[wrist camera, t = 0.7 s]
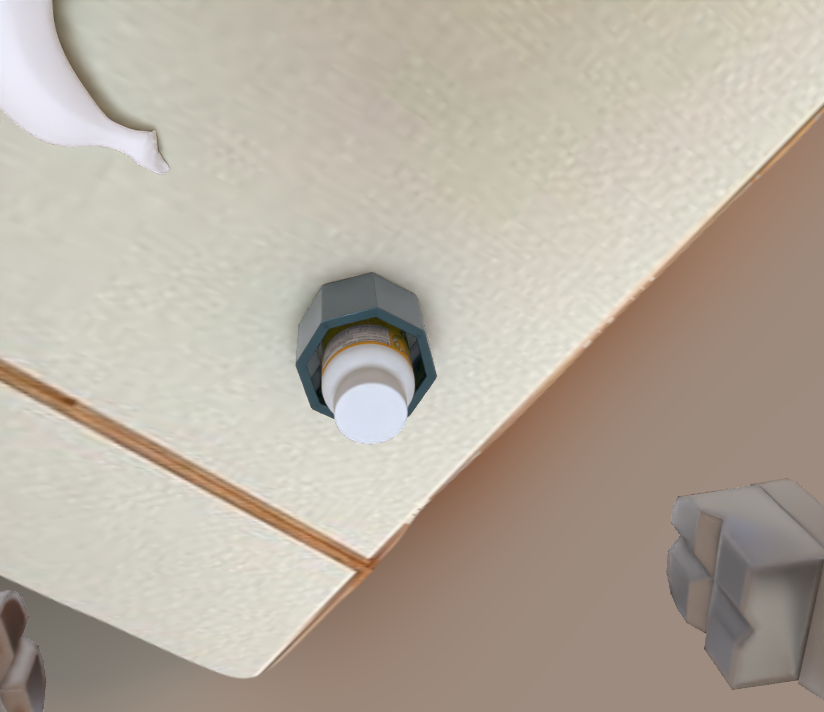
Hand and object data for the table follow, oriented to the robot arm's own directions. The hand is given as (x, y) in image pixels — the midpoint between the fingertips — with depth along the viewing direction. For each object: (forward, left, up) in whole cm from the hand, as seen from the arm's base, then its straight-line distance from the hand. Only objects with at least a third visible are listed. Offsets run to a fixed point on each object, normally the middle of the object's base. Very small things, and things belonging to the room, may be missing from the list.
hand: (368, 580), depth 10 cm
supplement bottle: (+13, +9, -38) cm, 41 cm away
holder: (+13, +9, -38) cm, 41 cm away
